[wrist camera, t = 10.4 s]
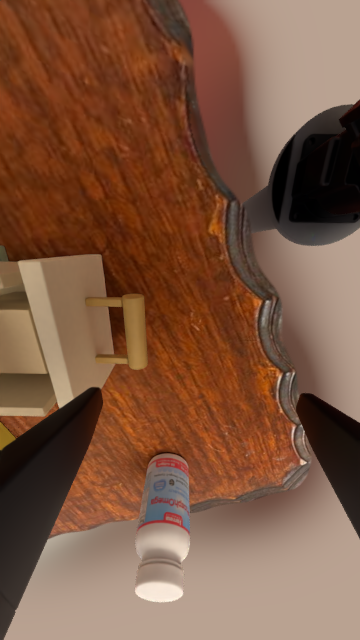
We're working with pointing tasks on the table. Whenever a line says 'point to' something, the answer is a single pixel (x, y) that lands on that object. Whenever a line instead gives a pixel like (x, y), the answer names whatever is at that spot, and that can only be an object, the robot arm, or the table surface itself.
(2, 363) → the block
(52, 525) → the robot arm
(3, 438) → the flat olive board
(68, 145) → the table surface
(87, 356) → the drawer
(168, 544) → the pill bottle
